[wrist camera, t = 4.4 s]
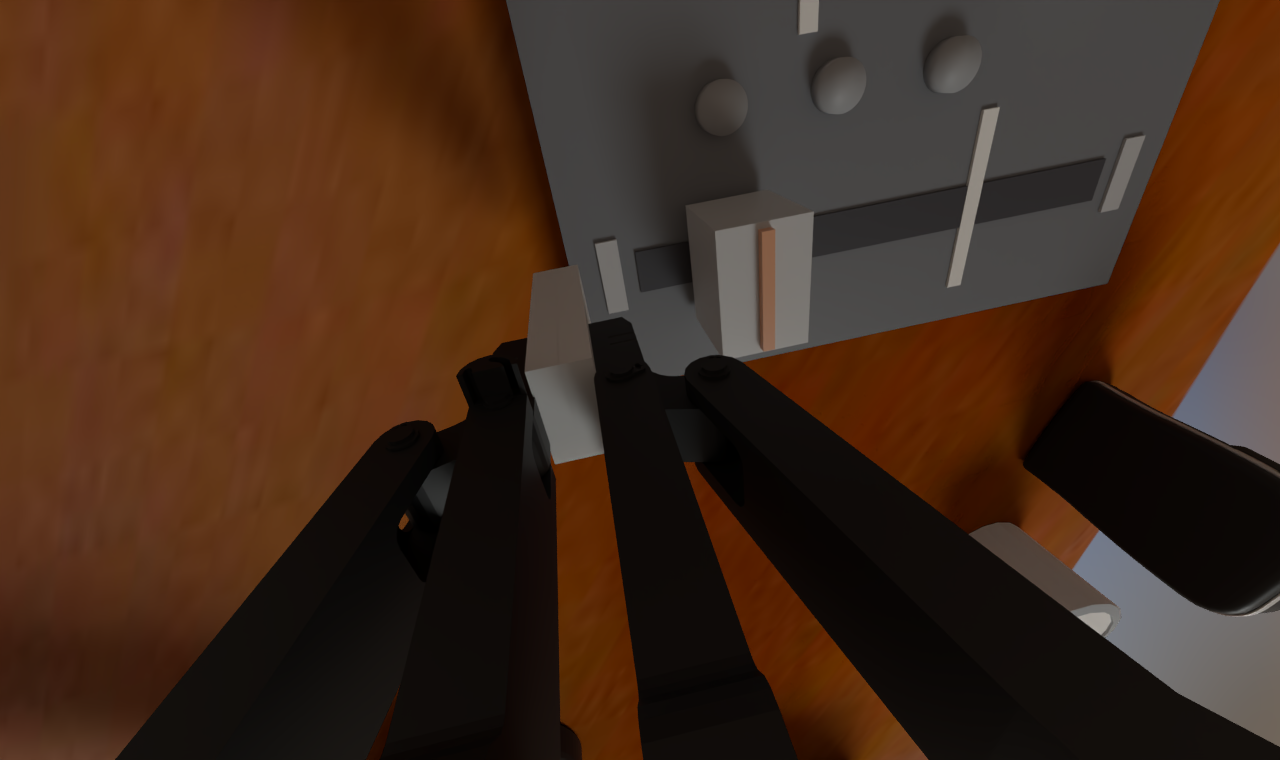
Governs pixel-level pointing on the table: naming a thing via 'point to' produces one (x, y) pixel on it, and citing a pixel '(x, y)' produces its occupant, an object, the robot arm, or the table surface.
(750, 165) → the console
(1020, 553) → the grey rimmed cylinder
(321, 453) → the table surface
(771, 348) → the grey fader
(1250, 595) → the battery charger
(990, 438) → the table surface
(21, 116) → the table surface
